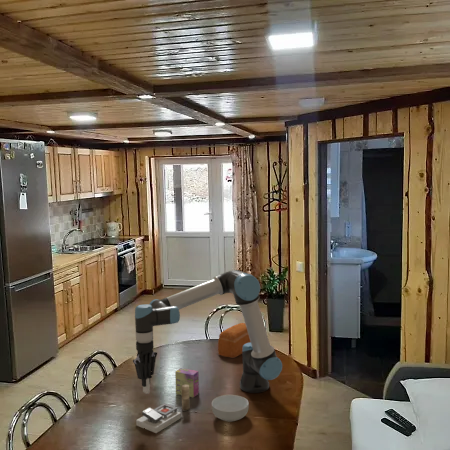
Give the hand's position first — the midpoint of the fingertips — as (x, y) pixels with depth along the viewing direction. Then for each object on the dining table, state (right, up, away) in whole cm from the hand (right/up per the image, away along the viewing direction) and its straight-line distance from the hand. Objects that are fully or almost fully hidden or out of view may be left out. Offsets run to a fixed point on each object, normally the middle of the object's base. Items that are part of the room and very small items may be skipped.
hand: (146, 392), depth 212 cm
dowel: (+16, -13, +15) cm, 25 cm away
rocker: (+3, -10, -1) cm, 10 cm away
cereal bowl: (+37, -13, +5) cm, 40 cm away
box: (+16, -12, +31) cm, 36 cm away
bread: (+42, -6, +91) cm, 100 cm away
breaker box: (+5, -14, +3) cm, 15 cm away
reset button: (+8, -12, +6) cm, 15 cm away
